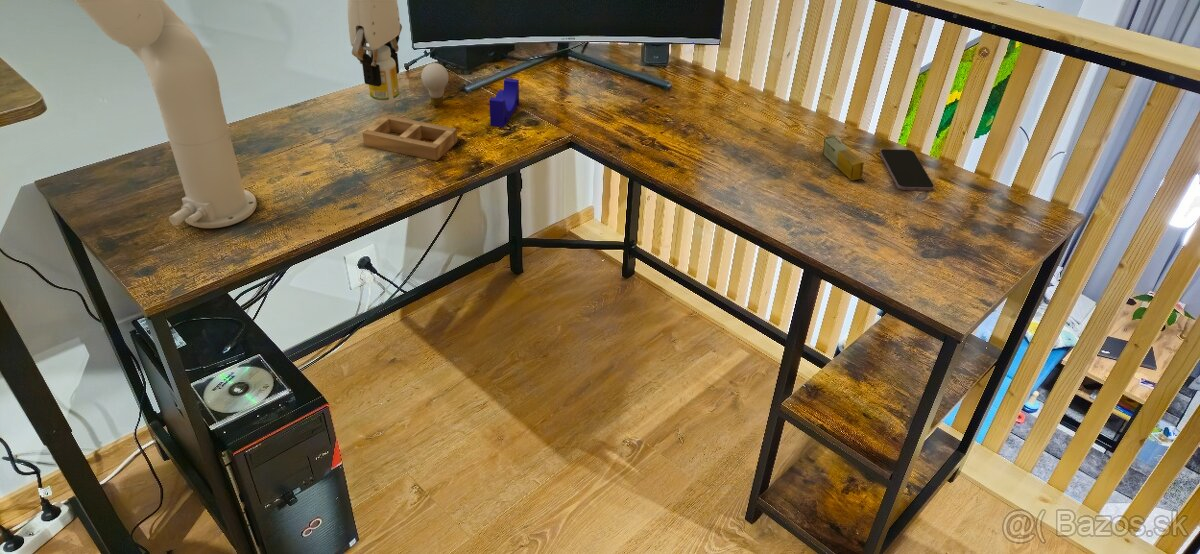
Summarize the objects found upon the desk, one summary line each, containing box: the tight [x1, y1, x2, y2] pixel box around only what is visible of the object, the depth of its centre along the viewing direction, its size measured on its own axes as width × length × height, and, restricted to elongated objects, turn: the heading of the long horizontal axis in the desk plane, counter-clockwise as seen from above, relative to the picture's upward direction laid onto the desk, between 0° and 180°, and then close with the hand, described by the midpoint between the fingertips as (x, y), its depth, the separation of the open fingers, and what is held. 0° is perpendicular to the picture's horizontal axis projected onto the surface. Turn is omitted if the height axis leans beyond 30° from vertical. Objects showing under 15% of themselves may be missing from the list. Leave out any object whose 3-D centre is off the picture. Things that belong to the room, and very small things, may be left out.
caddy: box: [362, 114, 459, 162], centre depth 174 cm, size 9×17×3 cm, turn 71°
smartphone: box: [879, 148, 935, 192], centre depth 172 cm, size 7×1×15 cm
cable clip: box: [488, 77, 520, 128], centre depth 186 cm, size 12×4×6 cm, turn 168°
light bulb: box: [420, 62, 449, 108], centre depth 187 cm, size 6×6×10 cm
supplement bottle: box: [367, 45, 400, 104], centre depth 155 cm, size 5×5×10 cm
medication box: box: [822, 135, 865, 182], centre depth 172 cm, size 12×3×4 cm, turn 16°
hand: (382, 77), depth 155 cm, fingers closed on supplement bottle, 5 cm apart
